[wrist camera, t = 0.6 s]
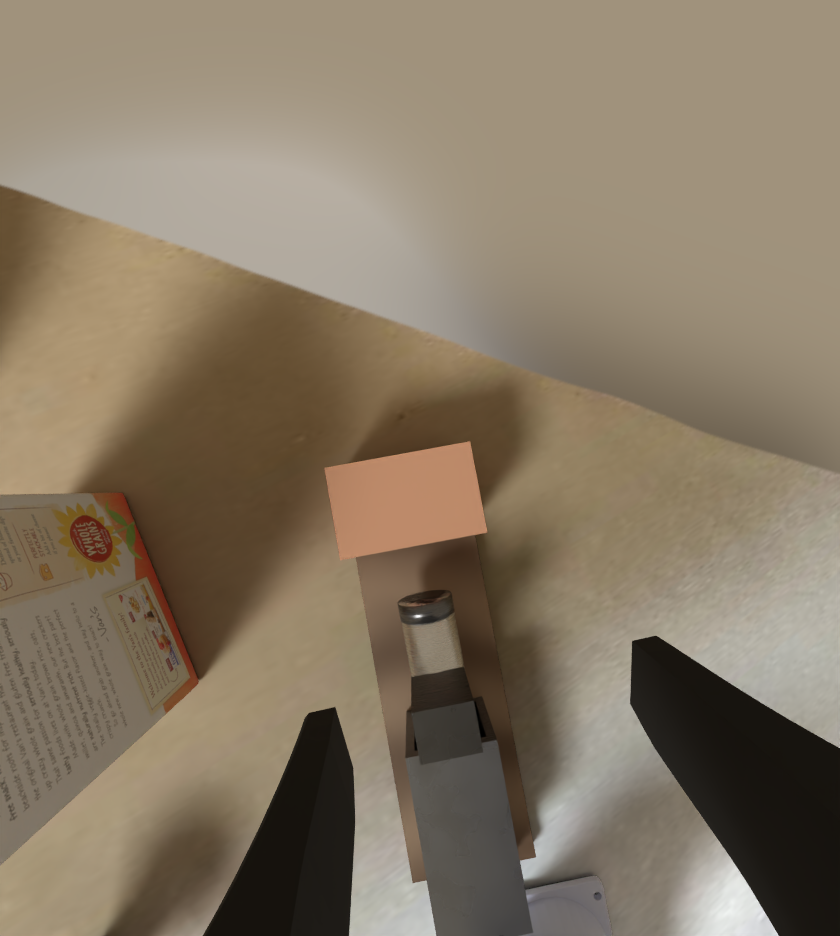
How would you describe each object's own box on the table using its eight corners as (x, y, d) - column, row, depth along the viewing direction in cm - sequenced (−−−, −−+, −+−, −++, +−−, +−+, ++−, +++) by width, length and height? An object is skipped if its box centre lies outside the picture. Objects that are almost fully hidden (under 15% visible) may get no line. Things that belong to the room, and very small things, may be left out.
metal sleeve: (511, 853, 28) (533, 933, 23) (434, 869, 28) (439, 952, 23) (482, 696, 28) (497, 739, 23) (406, 711, 28) (405, 758, 23)
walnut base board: (531, 844, 29) (536, 857, 28) (412, 869, 29) (412, 882, 28) (457, 452, 30) (459, 450, 29) (343, 472, 30) (340, 472, 29)
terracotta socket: (473, 524, 29) (487, 532, 23) (354, 546, 29) (340, 560, 23) (459, 450, 29) (470, 441, 24) (340, 472, 29) (324, 467, 24)
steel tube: (496, 843, 27) (526, 969, 20) (444, 854, 27) (456, 984, 20) (449, 586, 28) (462, 619, 21) (398, 596, 28) (393, 632, 21)
